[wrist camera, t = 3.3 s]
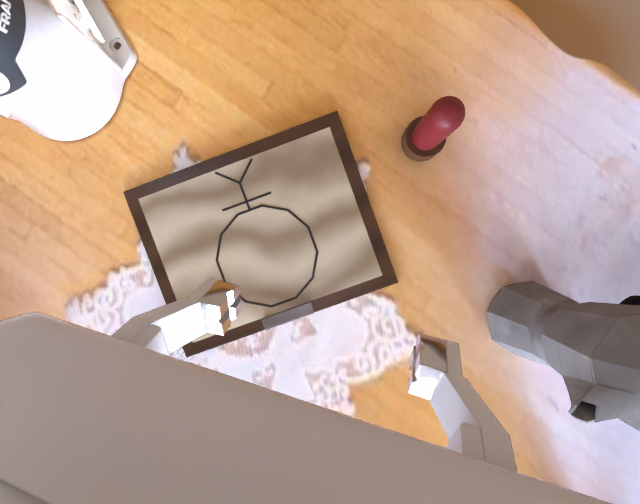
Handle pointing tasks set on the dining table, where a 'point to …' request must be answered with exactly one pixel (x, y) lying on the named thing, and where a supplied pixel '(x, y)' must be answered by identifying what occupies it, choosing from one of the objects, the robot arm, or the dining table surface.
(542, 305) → the coffeepot
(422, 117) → the dot stamp
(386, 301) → the dining table surface
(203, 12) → the dining table surface
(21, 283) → the dining table surface
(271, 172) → the drawing board
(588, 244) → the dining table surface
